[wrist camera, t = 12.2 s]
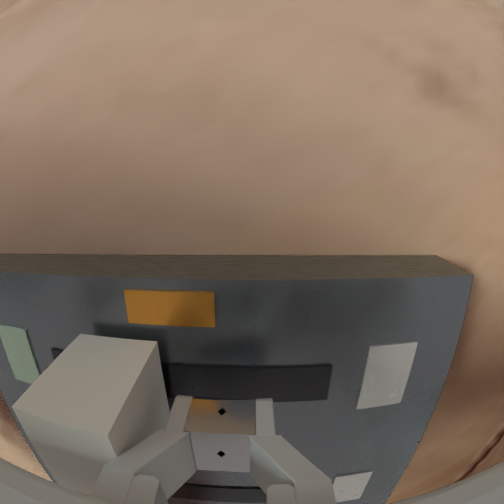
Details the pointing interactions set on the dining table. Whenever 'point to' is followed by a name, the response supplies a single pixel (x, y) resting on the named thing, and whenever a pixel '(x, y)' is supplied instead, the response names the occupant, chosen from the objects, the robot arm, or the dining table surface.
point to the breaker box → (259, 346)
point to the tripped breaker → (93, 406)
